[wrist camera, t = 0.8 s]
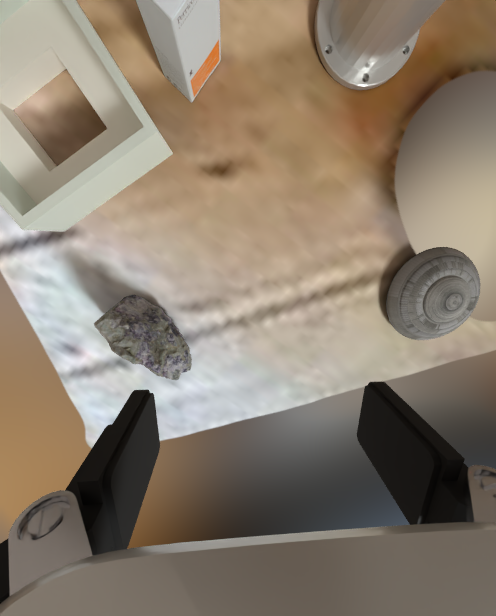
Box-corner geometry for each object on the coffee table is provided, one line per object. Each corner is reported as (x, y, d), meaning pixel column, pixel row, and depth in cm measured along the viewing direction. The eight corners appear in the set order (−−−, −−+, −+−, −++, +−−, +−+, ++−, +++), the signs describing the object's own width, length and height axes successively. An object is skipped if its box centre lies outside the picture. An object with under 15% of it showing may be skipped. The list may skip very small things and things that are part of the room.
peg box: (71, -8, 27) (18, -91, 20) (173, 153, 31) (158, 130, 25) (-51, 92, 28) (-139, 47, 21) (64, 231, 33) (22, 229, 26)
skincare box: (192, 105, 30) (170, 23, 19) (163, 76, 29) (121, -29, 18) (223, 60, 29) (220, -56, 18) (194, 29, 28) (171, -115, 17)
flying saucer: (487, 277, 40) (526, 283, 35) (427, 350, 43) (455, 366, 38) (422, 228, 37) (454, 226, 32) (362, 310, 40) (383, 321, 35)
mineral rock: (196, 362, 40) (185, 401, 30) (130, 375, 40) (99, 419, 30) (175, 285, 36) (156, 303, 27) (103, 299, 36) (58, 322, 26)
